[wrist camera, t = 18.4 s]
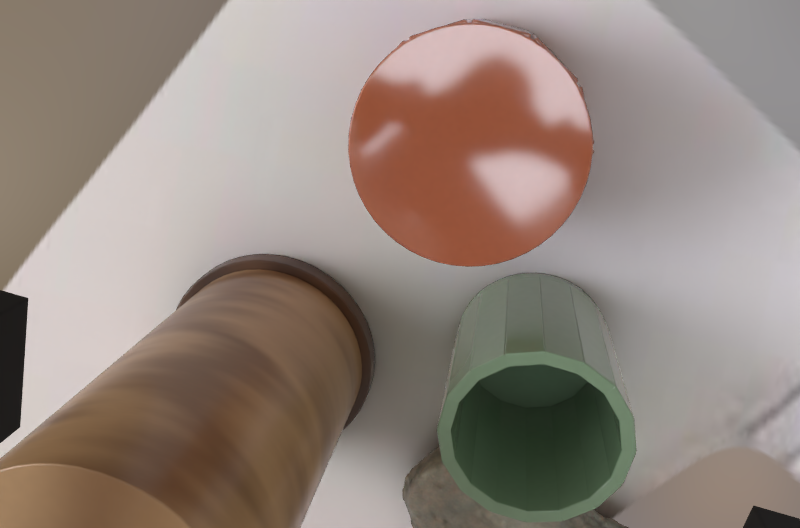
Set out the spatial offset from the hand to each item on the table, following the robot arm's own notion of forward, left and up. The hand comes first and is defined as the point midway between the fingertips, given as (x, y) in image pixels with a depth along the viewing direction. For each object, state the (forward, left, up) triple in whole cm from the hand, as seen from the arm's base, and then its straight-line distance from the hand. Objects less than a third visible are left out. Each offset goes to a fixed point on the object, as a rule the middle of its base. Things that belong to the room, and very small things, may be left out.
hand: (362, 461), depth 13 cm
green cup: (+6, -8, -27) cm, 28 cm away
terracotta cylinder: (0, +3, -27) cm, 27 cm away
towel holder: (-8, -13, -27) cm, 31 cm away
